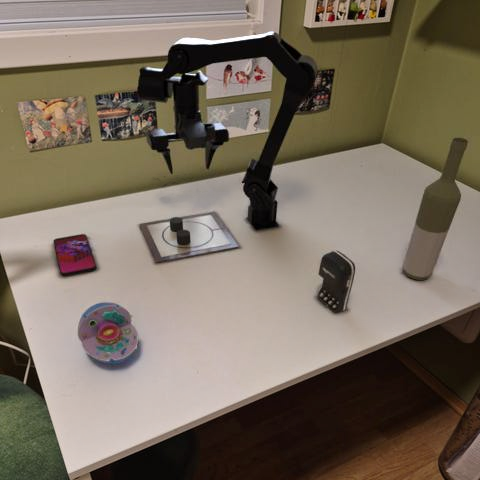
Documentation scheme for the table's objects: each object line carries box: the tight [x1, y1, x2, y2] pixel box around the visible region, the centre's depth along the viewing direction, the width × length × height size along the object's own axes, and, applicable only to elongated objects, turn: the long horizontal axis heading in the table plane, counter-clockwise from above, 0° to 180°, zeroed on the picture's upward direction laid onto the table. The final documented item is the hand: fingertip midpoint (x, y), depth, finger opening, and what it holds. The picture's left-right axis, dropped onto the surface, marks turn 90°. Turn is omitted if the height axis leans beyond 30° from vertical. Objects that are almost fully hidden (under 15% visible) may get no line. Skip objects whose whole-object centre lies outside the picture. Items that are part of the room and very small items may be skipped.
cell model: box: [77, 301, 139, 364], centre depth 81 cm, size 10×12×10 cm
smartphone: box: [53, 233, 97, 277], centre depth 107 cm, size 8×1×15 cm
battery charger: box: [317, 250, 356, 313], centre depth 93 cm, size 7×4×11 cm, turn 31°
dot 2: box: [177, 230, 191, 246], centre depth 111 cm, size 3×3×2 cm
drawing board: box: [139, 211, 240, 264], centre depth 115 cm, size 20×18×1 cm
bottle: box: [402, 137, 469, 281], centre depth 96 cm, size 7×7×30 cm
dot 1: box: [169, 216, 183, 232], centre depth 115 cm, size 3×3×2 cm
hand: (189, 171), depth 115 cm, fingers open, 9 cm apart
